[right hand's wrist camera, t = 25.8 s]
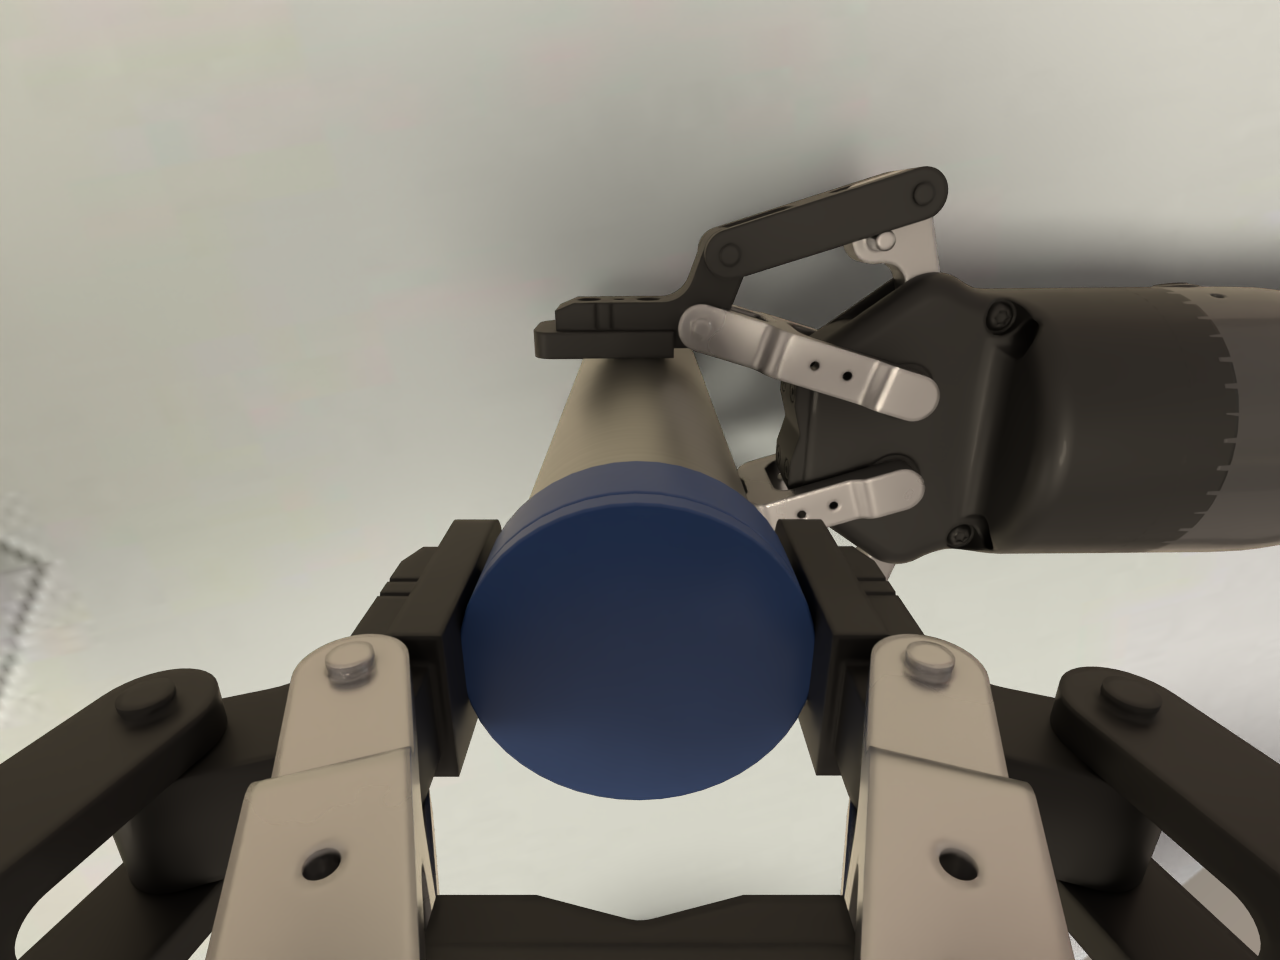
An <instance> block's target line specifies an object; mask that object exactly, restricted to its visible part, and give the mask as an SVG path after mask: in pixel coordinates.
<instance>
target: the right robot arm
mask: <svg viewBox="0 0 1280 960" xmlns="http://www.w3.org/2000/svg"><path fill="white" fill-rule="evenodd" d="M501 531H502V530H501V525H500V522H499V520H454V521H453V523H452V524H451V526H450V528H449V529H448V531H447V533H446V534H445V536H444V538H443V539H442V541H441V543H440V544H439V546H438V547H422V548H421V549H419V550H418V551H416V552H415V553H413V554H412V555H410V556H409V557H407V558H406V559H404V560H403V561H401V563H400V564H399V566H398V567H397V569H396V570H395V572H394V573H393V574H392V576H391V577H390V582H387V583H386V585H385V586H384V588H383V589H382V591H381V592H380V596H377V598H376V599H375V601H374V602H373V604H372V605H371V607H370V608H369V610H368V611H367V613H366V614H365V616H364V617H363V618H362V620H361V621H360V623H359V624H358V626H357V627H356V629H355V630H354V632H353V633H352V635H351V636H350V637H345V638H342V639H339V640H335V641H333V642H330V643H328V644H325V645H324V646H322V647H320V648H318V649H316V650H314V651H313V652H311V653H310V654H309V655H307V656H306V657H305V658H304V659H303V660H302V661H301V662H300V663H299V664H298V665H297V666H296V668H295V670H294V671H293V674H292V677H291V682H290V683H289V684H286V685H283V686H280V687H275V688H271V689H267V690H262V691H257V692H252V693H247V694H242V695H237V696H232V697H227V698H222V697H221V693H220V690H219V686H218V683H217V681H216V678H215V677H214V676H213V675H212V674H210V673H208V672H206V671H202V670H199V669H172V670H166V671H161V672H157V673H153V674H149V675H146V676H143V677H140V678H137V679H135V680H132V681H130V682H127V683H125V684H123V685H121V686H119V687H117V688H115V689H113V690H111V691H110V692H108V693H107V694H105V695H103V696H102V697H100V698H99V699H97V700H96V701H94V702H93V703H91V704H90V705H88V706H87V707H85V708H84V709H82V710H81V711H79V712H78V713H76V714H75V715H73V716H72V717H70V718H69V719H67V720H66V721H64V722H63V723H61V724H60V725H58V726H57V727H55V728H54V729H52V730H51V731H49V732H48V733H46V734H45V735H43V736H42V737H40V738H39V739H37V740H36V741H34V742H33V743H31V744H30V745H28V746H27V747H25V748H24V749H22V750H21V751H19V752H18V753H16V754H15V755H13V756H12V757H10V758H9V759H7V760H6V761H4V762H3V763H1V764H0V960H17V959H16V956H15V941H16V937H17V934H18V931H19V929H20V927H21V925H22V923H23V921H24V919H25V918H26V916H27V914H28V913H29V912H30V910H31V909H32V908H33V906H34V905H35V904H36V903H37V902H38V901H39V900H40V899H41V898H42V897H43V896H44V895H45V894H46V893H47V892H48V891H49V890H50V889H52V888H53V887H54V886H55V885H56V884H57V883H58V882H60V881H61V880H62V879H63V878H64V877H65V876H67V875H68V874H69V873H70V872H71V871H72V870H73V869H75V868H76V867H77V866H78V865H79V864H80V863H81V862H83V861H84V860H85V859H86V858H87V857H88V856H89V855H91V854H92V853H93V852H94V851H95V850H96V849H97V848H99V847H100V846H101V845H102V844H103V843H104V842H105V841H107V840H108V839H109V838H110V837H111V836H112V835H113V838H114V840H115V843H116V845H117V848H118V850H119V853H120V855H121V858H122V861H123V863H122V864H121V865H120V866H119V867H118V868H117V869H116V870H115V871H114V872H113V873H111V874H110V875H109V876H108V877H107V878H106V879H105V880H104V881H103V882H102V883H101V884H100V885H99V886H97V887H96V888H95V889H94V890H93V891H92V892H91V893H90V894H89V895H88V896H87V897H86V898H84V899H83V900H82V901H81V902H80V903H79V904H78V905H77V906H76V907H75V908H74V909H73V910H71V911H70V912H69V913H68V914H67V915H66V916H65V917H64V918H63V919H62V920H61V921H60V922H59V923H57V924H56V925H55V926H54V927H53V928H52V929H51V930H50V931H49V932H48V933H47V934H46V935H44V936H43V937H42V938H41V939H40V940H39V941H38V942H37V943H36V944H35V945H34V946H33V947H31V948H30V949H29V950H28V951H27V952H26V953H25V954H24V955H23V956H22V957H21V958H20V959H19V960H188V959H189V958H190V957H191V955H192V954H193V953H194V952H195V951H196V950H197V948H198V947H199V946H200V945H201V944H202V943H203V941H204V940H205V939H206V938H207V937H208V936H209V934H210V933H211V932H212V933H211V938H210V942H209V946H208V950H207V954H206V959H205V960H1075V959H1074V954H1073V950H1072V946H1071V942H1070V938H1069V933H1070V934H1071V936H1072V937H1073V938H1074V939H1075V940H1076V941H1077V943H1078V944H1079V945H1080V946H1081V947H1082V948H1083V950H1084V951H1085V952H1086V953H1087V954H1088V955H1089V957H1090V958H1091V959H1092V960H1280V764H1279V763H1277V762H1276V761H1274V760H1273V759H1271V758H1270V757H1268V756H1267V755H1265V754H1264V753H1262V752H1261V751H1259V750H1258V749H1256V748H1255V747H1253V746H1252V745H1250V744H1249V743H1247V742H1246V741H1244V740H1243V739H1241V738H1240V737H1238V736H1237V735H1235V734H1234V733H1232V732H1231V731H1229V730H1228V729H1226V728H1225V727H1223V726H1222V725H1220V724H1219V723H1217V722H1216V721H1214V720H1213V719H1211V718H1210V717H1208V716H1207V715H1205V714H1204V713H1202V712H1201V711H1199V710H1198V709H1196V708H1195V707H1193V706H1192V705H1190V704H1189V703H1187V702H1186V701H1184V700H1183V699H1181V698H1180V697H1178V696H1177V695H1175V694H1174V693H1172V692H1170V691H1169V690H1167V689H1166V688H1164V687H1162V686H1160V685H1158V684H1156V683H1154V682H1152V681H1149V680H1147V679H1145V678H1142V677H1140V676H1137V675H1134V674H1131V673H1128V672H1124V671H1120V670H1116V669H1110V668H1104V667H1080V668H1076V669H1072V670H1070V671H1068V672H1066V673H1065V674H1064V675H1063V676H1062V677H1061V680H1060V682H1059V686H1058V690H1057V693H1056V697H1055V698H1052V697H1047V696H1043V695H1038V694H1033V693H1028V692H1023V691H1018V690H1013V689H1008V688H1003V687H999V686H995V685H992V684H990V682H989V677H988V674H987V671H986V670H985V668H984V666H983V665H982V664H981V663H980V662H979V661H978V660H977V659H976V658H975V657H974V656H973V655H971V654H970V653H969V652H967V651H966V650H964V649H962V648H960V647H958V646H956V645H955V644H952V643H950V642H947V641H945V640H941V639H938V638H935V637H930V636H926V635H924V634H923V632H922V631H921V629H920V628H919V626H918V625H917V623H916V622H915V620H914V619H913V617H912V616H911V614H910V613H909V611H908V610H907V608H906V607H905V605H904V604H903V602H902V601H901V599H900V598H899V596H896V594H895V590H894V589H893V587H892V586H891V584H890V583H889V581H886V577H885V575H884V574H883V573H882V571H881V570H880V568H879V567H878V565H877V564H876V562H875V561H874V560H873V559H871V558H870V557H868V556H867V555H865V554H864V553H862V552H861V551H859V550H858V549H856V548H855V547H853V546H837V544H836V542H835V540H834V539H833V537H832V535H831V534H830V532H829V530H828V529H827V527H826V525H825V524H824V522H823V521H822V520H821V519H778V521H777V523H776V527H775V532H776V534H777V535H778V537H779V539H780V542H781V544H782V546H783V548H784V550H785V552H786V554H787V557H788V559H789V561H790V564H791V566H792V568H793V571H794V573H795V575H796V578H797V580H798V583H799V585H800V587H801V590H802V592H803V594H804V597H805V599H806V601H807V604H808V607H809V610H810V613H811V617H812V620H813V623H814V629H815V642H814V652H813V660H812V669H811V678H810V686H809V693H808V697H807V700H806V703H805V705H804V707H803V709H802V711H801V712H800V714H799V716H798V718H799V722H800V725H801V728H802V731H803V734H804V738H805V741H806V744H807V747H808V750H809V754H810V757H811V760H812V763H813V767H814V770H815V773H816V775H841V776H842V778H843V781H844V784H845V787H846V790H847V792H848V795H849V804H848V811H847V820H846V833H845V845H844V857H843V870H842V882H841V894H840V895H742V896H738V897H734V898H730V899H726V900H723V901H719V902H715V903H711V904H707V905H704V906H700V907H696V908H692V909H688V910H684V911H681V912H677V913H673V914H669V915H665V916H662V917H658V918H654V919H649V920H631V919H626V918H622V917H618V916H615V915H611V914H607V913H603V912H599V911H596V910H592V909H588V908H584V907H580V906H576V905H573V904H569V903H565V902H561V901H557V900H554V899H550V898H546V897H542V896H538V895H440V894H439V882H438V870H437V857H436V845H435V833H434V820H433V811H432V804H431V797H430V791H429V788H430V785H431V782H432V780H433V777H459V775H460V772H461V769H462V766H463V763H464V760H465V756H466V753H467V750H468V747H469V744H470V741H471V738H472V735H473V731H474V728H475V725H476V722H477V719H478V717H477V715H476V713H475V711H474V709H473V707H472V706H471V703H470V701H469V698H468V694H467V687H466V678H465V670H464V661H463V653H462V644H461V625H462V622H463V618H464V614H465V610H466V607H467V605H468V603H469V600H470V598H471V596H472V594H473V591H474V589H475V587H476V584H477V582H478V580H479V578H480V575H481V573H482V571H483V568H484V566H485V564H486V562H487V559H488V557H489V555H490V553H491V550H492V548H493V546H494V544H495V541H496V539H497V537H498V536H499V534H500V533H501ZM1161 831H1163V832H1164V833H1165V834H1167V835H1168V836H1169V837H1170V838H1171V839H1172V840H1173V841H1175V842H1176V843H1177V844H1178V845H1179V846H1180V847H1181V848H1183V849H1184V850H1185V851H1186V852H1187V853H1188V854H1189V855H1191V856H1192V857H1193V858H1194V859H1195V860H1196V861H1197V862H1199V863H1200V864H1201V865H1202V866H1203V867H1204V868H1205V869H1207V870H1208V871H1209V872H1210V873H1211V874H1212V875H1214V876H1215V877H1216V878H1217V879H1218V880H1219V881H1220V882H1221V883H1223V884H1224V885H1225V886H1226V887H1227V888H1228V889H1230V890H1231V891H1232V892H1233V893H1234V894H1235V895H1236V896H1237V897H1238V898H1239V900H1240V901H1241V902H1242V903H1243V904H1244V906H1245V907H1246V908H1247V910H1248V911H1249V913H1250V915H1251V916H1252V918H1253V920H1254V922H1255V924H1256V926H1257V929H1258V932H1259V935H1260V941H1261V949H1260V953H1259V955H1258V956H1257V955H1256V954H1255V953H1254V952H1253V951H1252V950H1251V949H1250V948H1248V947H1247V946H1246V945H1245V944H1244V943H1243V942H1242V941H1241V940H1240V939H1239V938H1238V937H1237V936H1235V935H1234V934H1233V933H1232V932H1231V931H1230V930H1229V929H1228V928H1227V927H1226V926H1225V925H1224V924H1222V923H1221V922H1220V921H1219V920H1218V919H1217V918H1216V917H1215V916H1214V915H1213V914H1212V913H1211V912H1210V911H1208V910H1207V909H1206V908H1205V907H1204V906H1203V905H1202V904H1201V903H1200V902H1199V901H1198V900H1197V899H1196V898H1194V897H1193V896H1192V895H1191V894H1190V893H1189V892H1188V891H1187V890H1186V889H1185V888H1184V887H1183V886H1181V885H1180V884H1179V883H1178V882H1177V881H1176V880H1175V879H1174V878H1173V877H1172V876H1171V875H1170V874H1168V873H1167V872H1166V871H1165V870H1164V869H1163V868H1162V867H1161V866H1160V865H1159V864H1158V863H1157V862H1156V861H1154V860H1153V859H1152V858H1151V857H1152V854H1153V852H1154V849H1155V846H1156V844H1157V841H1158V839H1159V836H1160V833H1161ZM1068 932H1069V933H1068Z"/></svg>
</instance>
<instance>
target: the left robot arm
mask: <svg viewBox="0 0 1280 960" xmlns="http://www.w3.org/2000/svg"><path fill="white" fill-rule="evenodd" d="M947 195H948V184H947V180H946V178H945V176H944V175H943V174H942V172H940V171H939V170H938V169H936V168H933V167H928V166H925V167H918V168H911V169H905V170H898V171H892V172H886V173H883V174H880V175H877V176H873V177H870V178H867V179H864V180H861V181H858V182H855V183H852V184H849V185H845V186H842V187H839V188H836V189H833V190H830V191H827V192H824V193H821V194H817V195H814V196H811V197H808V198H805V199H802V200H799V201H796V202H793V203H789V204H786V205H783V206H780V207H777V208H774V209H771V210H768V211H765V212H761V213H758V214H755V215H752V216H749V217H746V218H743V219H740V220H737V221H733V222H730V223H727V224H724V225H721V226H718V227H715V228H712V229H710V230H708V231H707V232H706V233H705V234H704V235H703V236H702V238H701V239H700V242H699V244H698V252H697V255H696V257H695V260H694V263H693V266H692V268H691V271H690V274H689V276H688V279H687V281H686V282H685V284H684V285H683V286H682V287H681V288H680V289H679V290H678V291H676V292H675V293H672V294H670V295H666V296H614V297H613V296H601V297H597V296H588V297H576V298H574V299H572V300H569V301H567V302H564V303H562V304H560V306H559V307H558V308H557V309H556V310H555V320H550V321H544V322H541V323H540V324H539V325H538V326H537V327H536V328H535V329H534V342H535V356H536V357H538V358H542V359H620V358H674V348H689V349H691V350H693V351H696V352H700V353H703V354H706V355H710V356H713V357H716V358H719V359H723V360H726V361H729V362H732V363H736V364H739V365H742V366H746V367H749V368H752V369H754V370H757V371H759V372H760V373H762V374H764V375H766V376H769V377H772V378H774V379H777V380H781V389H780V390H781V395H782V400H783V405H784V409H785V418H784V421H783V424H782V427H781V430H780V433H779V435H778V438H777V446H776V454H773V455H769V456H766V457H763V458H759V459H756V460H753V461H749V462H747V463H745V464H743V465H741V466H740V467H739V468H738V469H737V471H738V474H739V477H740V479H741V482H742V485H743V487H744V490H745V493H746V495H747V498H748V501H749V502H750V503H752V504H753V505H754V506H755V507H756V508H757V509H758V511H759V512H760V513H761V514H762V515H763V516H764V517H765V518H766V519H767V521H768V522H769V524H770V525H771V527H772V528H773V529H774V531H775V527H776V523H777V521H778V519H821V520H822V521H823V522H824V524H825V525H826V527H830V528H831V529H833V530H834V531H836V532H837V533H839V534H840V535H842V536H843V537H844V538H846V539H847V540H849V541H850V542H852V543H853V544H855V545H856V546H857V547H856V549H858V550H859V551H861V552H862V553H864V554H865V555H867V556H868V557H870V558H871V559H873V560H874V561H875V562H876V564H877V565H878V567H879V568H880V570H881V571H882V573H883V574H884V575H885V577H886V581H887V580H888V578H889V576H890V574H891V572H892V570H893V568H894V566H895V564H902V563H907V562H910V561H913V560H915V559H917V558H920V557H922V556H924V555H926V554H929V553H931V552H934V551H938V550H942V549H962V550H970V551H977V552H984V553H997V554H1014V553H1139V552H1218V551H1239V550H1249V549H1257V548H1264V547H1270V546H1276V545H1280V290H1275V289H1266V288H1256V287H1200V286H1199V285H1194V284H1188V283H1167V284H1159V285H1154V286H1153V287H1105V288H993V289H981V288H973V287H971V286H969V285H967V284H965V283H964V282H962V281H961V280H959V279H958V278H956V277H954V276H952V275H949V274H946V273H941V272H940V267H939V259H938V252H937V244H936V237H935V229H934V222H933V216H935V215H936V214H937V213H938V212H939V211H940V210H941V209H942V207H943V206H944V204H945V202H946V199H947ZM840 246H844V249H845V251H846V253H847V254H848V256H849V257H851V258H852V259H854V260H856V261H859V262H864V263H868V264H879V263H884V264H885V265H887V266H888V267H889V269H890V270H891V272H892V274H893V278H892V279H891V280H889V281H888V282H887V283H885V284H884V285H882V286H881V287H879V288H878V289H876V290H875V291H874V292H872V293H871V294H869V295H868V296H866V297H865V298H864V299H862V300H861V301H859V302H858V303H856V304H855V305H853V306H852V307H851V308H849V309H848V310H846V311H845V312H843V313H842V314H840V315H839V316H838V317H836V318H835V319H833V320H832V321H830V322H829V323H828V324H826V325H825V326H823V327H822V328H820V329H819V330H817V329H814V328H811V327H807V326H804V325H801V324H798V323H795V322H792V321H788V320H785V319H782V318H779V317H776V316H772V315H769V314H766V313H762V312H756V311H752V310H749V309H746V308H742V307H739V306H736V305H733V302H734V299H735V297H736V294H737V292H738V289H739V287H740V284H741V282H742V279H743V277H744V276H747V275H751V274H754V273H757V272H760V271H763V270H767V269H770V268H773V267H776V266H779V265H783V264H786V263H789V262H792V261H795V260H799V259H802V258H805V257H808V256H812V255H815V254H818V253H821V252H824V251H828V250H831V249H834V248H837V247H840ZM779 473H781V474H779Z"/></svg>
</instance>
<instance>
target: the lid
mask: <svg viewBox="0 0 1280 960" xmlns="http://www.w3.org/2000/svg"><path fill="white" fill-rule="evenodd" d="M814 642H815V629H814V623H813V620H812V617H811V613H810V610H809V607H808V604H807V601H806V599H805V597H804V594H803V592H802V590H801V587H800V585H799V583H798V580H797V578H796V575H795V573H794V571H793V568H792V566H791V564H790V561H789V559H788V557H787V554H786V552H785V550H784V548H783V546H782V544H781V542H780V539H779V537H778V535H777V534H776V532H775V531H774V529H773V528H772V527H771V525H770V524H769V522H768V521H767V519H766V518H765V517H764V516H763V515H762V514H761V513H760V512H759V511H758V509H757V508H756V507H755V506H754V505H753V504H752V503H750V502H749V501H748V500H747V499H746V498H744V497H743V496H742V495H741V494H739V493H738V492H737V491H735V490H734V489H732V488H730V487H729V486H727V485H726V484H724V483H722V482H721V481H719V480H717V479H714V478H712V477H710V476H708V475H706V474H703V473H701V472H698V471H695V470H692V469H688V468H685V467H682V466H678V465H672V464H666V463H661V462H648V461H628V462H614V463H609V464H604V465H599V466H594V467H590V468H587V469H584V470H581V471H578V472H575V473H572V474H570V475H568V476H566V477H564V478H562V479H559V480H557V481H555V482H553V483H552V484H550V485H548V486H547V487H545V488H544V489H542V490H541V491H539V492H538V493H536V494H535V495H534V496H533V497H531V498H530V499H529V500H528V501H527V502H526V503H525V504H523V505H522V506H521V507H520V508H519V509H518V510H517V511H516V513H515V514H514V515H513V516H512V517H511V518H510V520H509V521H508V522H507V523H506V525H505V526H504V528H503V530H502V531H501V533H500V534H499V536H498V537H497V539H496V541H495V544H494V546H493V548H492V550H491V553H490V555H489V557H488V559H487V562H486V564H485V566H484V568H483V571H482V573H481V575H480V578H479V580H478V582H477V584H476V587H475V589H474V591H473V594H472V596H471V598H470V600H469V603H468V605H467V607H466V610H465V614H464V618H463V622H462V625H461V644H462V653H463V661H464V670H465V678H466V687H467V694H468V698H469V701H470V703H471V706H472V707H473V709H474V711H475V713H476V715H477V717H478V718H479V720H480V722H481V723H482V725H483V726H484V727H485V729H486V730H487V731H488V733H489V734H490V735H491V737H492V738H493V739H494V740H495V741H496V742H497V743H498V744H499V745H500V746H501V747H502V748H503V749H504V750H505V751H506V752H507V753H508V754H509V755H511V756H512V757H513V758H514V759H516V760H517V761H518V762H519V763H521V764H522V765H523V766H525V767H527V768H528V769H530V770H531V771H533V772H535V773H536V774H538V775H539V776H542V777H544V778H546V779H548V780H550V781H552V782H554V783H556V784H558V785H561V786H564V787H567V788H570V789H572V790H575V791H578V792H582V793H586V794H590V795H595V796H599V797H606V798H613V799H625V800H650V799H663V798H670V797H676V796H682V795H686V794H690V793H694V792H697V791H701V790H704V789H707V788H709V787H712V786H715V785H717V784H720V783H722V782H724V781H726V780H728V779H730V778H732V777H734V776H736V775H738V774H740V773H742V772H743V771H745V770H746V769H748V768H749V767H751V766H752V765H754V764H755V763H757V762H758V761H759V760H760V759H762V758H763V757H764V756H765V755H766V754H768V753H769V752H770V751H771V750H772V749H773V748H774V747H775V746H776V745H777V744H778V743H779V742H780V741H781V740H782V739H783V737H784V736H785V735H786V734H787V733H788V731H789V730H790V728H791V727H792V726H793V724H794V723H795V721H796V720H797V718H798V716H799V714H800V712H801V711H802V709H803V707H804V705H805V703H806V700H807V697H808V693H809V686H810V678H811V669H812V660H813V652H814Z"/></svg>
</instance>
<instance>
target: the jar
mask: <svg viewBox="0 0 1280 960" xmlns="http://www.w3.org/2000/svg"><path fill="white" fill-rule="evenodd" d="M628 461H648V462H661V463H666V464H672V465H678V466H682V467H685V468H688V469H692V470H695V471H698V472H701V473H703V474H706V475H708V476H710V477H712V478H714V479H717V480H719V481H721V482H722V483H724V484H726V485H727V486H729V487H730V488H732V489H734V490H735V491H737V492H738V493H739V494H741V495H742V496H743V497H744V498H746V499H747V500H748V498H747V495H746V493H745V490H744V487H743V485H742V482H741V479H740V477H739V474H738V471H737V469H736V466H735V463H734V461H733V458H732V455H731V452H730V450H729V447H728V444H727V442H726V439H725V436H724V434H723V431H722V428H721V426H720V423H719V420H718V417H717V415H716V412H715V409H714V407H713V404H712V401H711V399H710V396H709V393H708V391H707V388H706V385H705V383H704V380H703V377H702V374H701V372H700V369H699V366H698V364H697V361H696V358H695V356H694V353H693V351H692V350H691V349H689V348H674V358H620V359H583V361H582V363H581V366H580V369H579V371H578V374H577V376H576V379H575V382H574V384H573V387H572V389H571V392H570V395H569V397H568V400H567V402H566V405H565V407H564V410H563V413H562V415H561V418H560V420H559V423H558V426H557V428H556V431H555V433H554V436H553V439H552V441H551V444H550V446H549V449H548V452H547V454H546V457H545V459H544V462H543V465H542V467H541V470H540V472H539V475H538V477H537V480H536V483H535V485H534V488H533V490H532V493H531V496H530V498H531V497H533V496H534V495H535V494H536V493H538V492H539V491H541V490H542V489H544V488H545V487H547V486H548V485H550V484H552V483H553V482H555V481H557V480H559V479H562V478H564V477H566V476H568V475H570V474H572V473H575V472H578V471H581V470H584V469H587V468H590V467H594V466H599V465H604V464H609V463H614V462H628ZM530 498H529V499H530Z"/></svg>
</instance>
